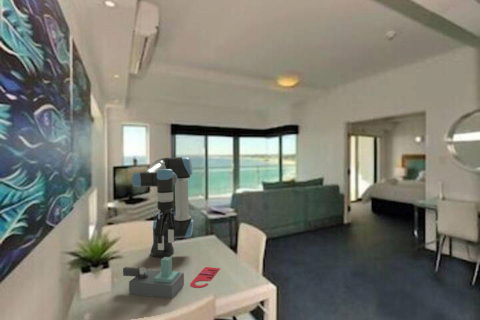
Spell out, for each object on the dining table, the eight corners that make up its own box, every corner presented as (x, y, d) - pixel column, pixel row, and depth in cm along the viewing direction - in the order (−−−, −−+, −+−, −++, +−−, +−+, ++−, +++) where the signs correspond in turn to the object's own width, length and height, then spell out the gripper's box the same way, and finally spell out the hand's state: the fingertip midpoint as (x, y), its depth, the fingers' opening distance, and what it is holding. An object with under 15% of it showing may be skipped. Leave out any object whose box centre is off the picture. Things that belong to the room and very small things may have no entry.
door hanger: (220, 268, 162) (204, 288, 138) (220, 269, 162) (204, 289, 138) (205, 266, 165) (187, 286, 141) (205, 267, 165) (187, 287, 141)
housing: (144, 281, 148) (144, 269, 147) (184, 284, 143) (183, 272, 143) (129, 294, 134) (129, 281, 134) (172, 298, 130) (172, 284, 129)
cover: (162, 273, 143) (162, 254, 142) (179, 274, 141) (178, 255, 141) (153, 281, 134) (153, 261, 134) (171, 282, 132) (170, 262, 132)
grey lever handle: (147, 275, 140) (146, 267, 139) (144, 278, 137) (143, 269, 136) (125, 274, 141) (125, 266, 141) (122, 277, 138) (122, 268, 138)
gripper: (168, 197, 148) (169, 238, 149) (146, 204, 126) (147, 253, 127) (181, 197, 147) (182, 239, 147) (161, 205, 125) (162, 254, 125)
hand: (166, 245), depth 137 cm, fingers open, 10 cm apart
